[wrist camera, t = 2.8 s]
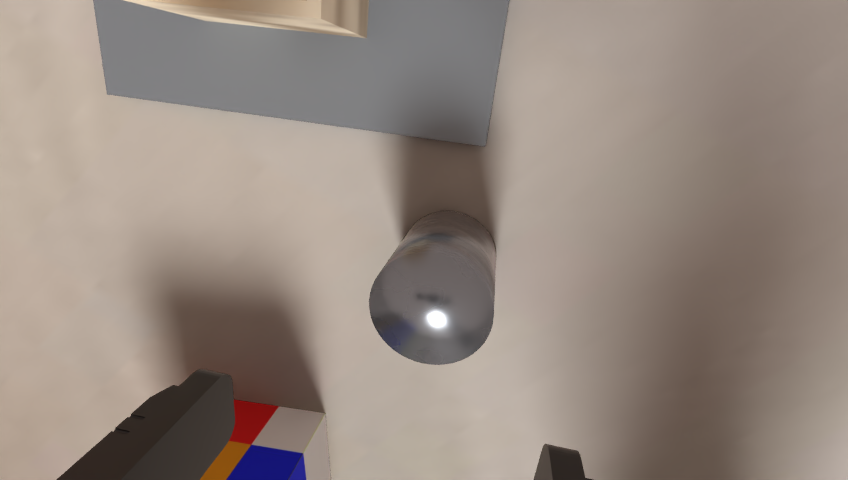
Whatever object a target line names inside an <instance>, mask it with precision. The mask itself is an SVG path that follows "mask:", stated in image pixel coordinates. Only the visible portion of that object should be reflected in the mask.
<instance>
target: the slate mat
mask: <svg viewBox="0 0 848 480" xmlns="http://www.w3.org/2000/svg"><path fill="white" fill-rule="evenodd" d="M93 2H94V9H95V16H96V22H97V29H98V36H99V43H100V49H101V56H102V63H103V70H104V77H105V83H106V90H107V94H108V95H115V96H122V97H130V98H137V99H144V100H151V101H159V102H166V103H173V104H180V105H188V106H195V107H202V108H209V109H217V110H224V111H231V112H238V113H246V114H253V115H260V116H267V117H275V118H282V119H289V120H296V121H304V122H311V123H318V124H325V125H333V126H340V127H347V128H354V129H362V130H369V131H376V132H383V133H391V134H398V135H405V136H412V137H420V138H427V139H434V140H441V141H449V142H456V143H463V144H470V145H477V146H486V141H487V135H488V128H489V122H490V116H491V110H492V104H493V98H494V92H495V86H496V80H497V73H498V67H499V61H500V55H501V49H502V43H503V37H504V31H505V24H506V18H507V12H508V6H509V0H369V8H368V25H367V38H360V37H351V36H341V35H332V34H323V33H314V32H304V31H295V30H286V29H276V28H267V27H258V26H249V25H239V24H230V23H221V22H211V21H204V20H200V19H196V18H192V17H188V16H184V15H180V14H176V13H172V12H168V11H164V10H160V9H156V8H152V7H148V6H144V5H140V4H136V3H132V2H128V1H124V0H93Z"/></svg>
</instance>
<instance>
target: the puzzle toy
mask: <svg viewBox="0 0 848 480" xmlns="http://www.w3.org/2000/svg"><path fill="white" fill-rule="evenodd" d="M234 410H235V425H234V429H233V432H232V435H231V437H230V439H229V441H228V443H227V444H226V446H225V447H224V449H223V450H222V451H221V452H220V454H219V455H218V456H217V458H216V459H215V460H214V462H213V463H212V464H211V466H210V467H209V468H208V469H207V471H206V472H205V473H204V475H203V476H202V477H201V479H200V480H331V473H330V461H329V449H328V437H327V425H326V413H321V412H314V411H307V410H300V409H294V408H287V407H280V406H274V405H267V404H260V403H254V402H247V401H240V400H234Z"/></svg>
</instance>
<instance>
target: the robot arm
mask: <svg viewBox="0 0 848 480" xmlns="http://www.w3.org/2000/svg"><path fill="white" fill-rule="evenodd" d="M234 425H235V410H234V397H233V384H232V378H231V376H230V375H228V374H223V373H219V372H214V371H209V370H205V369H199V370H197V371H195V372H194V373H193V374H192V375H191V376H190V377H188V378H187V379H186V380H185V381H184V382H183V383H182V384H181V385H180V386H175V385H172V386H171V387H169V388H167V389H165V390H163V391H161V392H159V393H157V394H156V395H154V396H152V397H150V398H149V399H148V400H147V401H145V402H144V403H143V404H142V405H141V406H140V407H139V408H137V409H136V410H135V411H134V412H133V413H132V414H131V416H130V417H127V418H126V419H125V420H124V421H123V422H122V423H120V424H119V425H118V426H117V427H116V429H115V431H114V432H112V431H111V432H110V433H109V434H108V435H107V436H106V437H104V438H103V439H102V440H101V441H100V442H99V443H98V444H97V445H95V446H94V447H93V448H92V449H91V450H90V451H89V452H87V453H86V454H85V455H84V456H83V457H82V458H81V459H79V460H78V461H77V462H76V463H75V464H74V465H73V466H72V467H70V468H69V469H68V470H67V471H66V472H65V473H64V474H62V475H61V476H60V477H59V478H58V479H57V480H200V479H201V477H202V476H203V475H204V473H205V472H206V471H207V469H208V468H209V467H210V466H211V464H212V463H213V462H214V460H215V459H216V458H217V456H218V455H219V454H220V452H221V451H222V450H223V449H224V447H225V446H226V444H227V443H228V441H229V439H230V437H231V435H232V432H233V429H234ZM534 480H592V479H588V478H585V474H584V470H583V466H582V461H581V457H580V454H579V452H578V451H576V450H571V449H567V448H562V447H557V446H553V445H548V444H545V445H544V446H543V449H542V452H541V455H540V459H539V463H538V466H537V470H536V473H535V477H534Z"/></svg>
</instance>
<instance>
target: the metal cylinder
mask: <svg viewBox="0 0 848 480" xmlns="http://www.w3.org/2000/svg"><path fill="white" fill-rule="evenodd" d="M495 273H496V250H495V246H494V243H493V240H492V238H491V236H490V234H489V233H488V231H487V230H486V229H485V228H484V226H483V225H481V224H480V223H479V222H478V221H477V220H475V219H474V218H472V217H470V216H468V215H466V214H463V213H459V212H455V211H440V212H435V213H432V214H429V215H427V216H425V217H423V218H421V219H420V220H419V221H417V222H416V223H415V224H414V225H413V226H412V227H411V229H410V230H409V232H408V233H407V235H406V236H405V237H404V239H403V240H402V242H401V243H400V245H399V246H398V247H397V249H396V250H395V252H394V253H393V255H392V256H391V258H390V259H389V260H388V262H387V263H386V265H385V266H384V268H383V269H382V270H381V272H380V273H379V275H378V276H377V278H376V279H375V281H374V284H373V286H372V289H371V292H370V299H369V308H370V314H371V318H372V321H373V324H374V326H375V328H376V330H377V332H378V333H379V335H380V336H381V337H382V339H383V340H384V341H385V342H386V343H387V344H388V345H389V346H390V347H391V348H392V349H393V350H395V351H396V352H398V353H399V354H401V355H403V356H404V357H406V358H408V359H411V360H414V361H417V362H420V363H425V364H434V365H441V364H449V363H454V362H457V361H460V360H462V359H465V358H467V357H468V356H470V355H472V354H473V353H474V352H476V351H477V350H478V349H479V348H480V347H481V346H482V345H483V343H484V342H485V341H486V339H487V337H488V335H489V333H490V331H491V328H492V324H493V317H494V296H495Z"/></svg>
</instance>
